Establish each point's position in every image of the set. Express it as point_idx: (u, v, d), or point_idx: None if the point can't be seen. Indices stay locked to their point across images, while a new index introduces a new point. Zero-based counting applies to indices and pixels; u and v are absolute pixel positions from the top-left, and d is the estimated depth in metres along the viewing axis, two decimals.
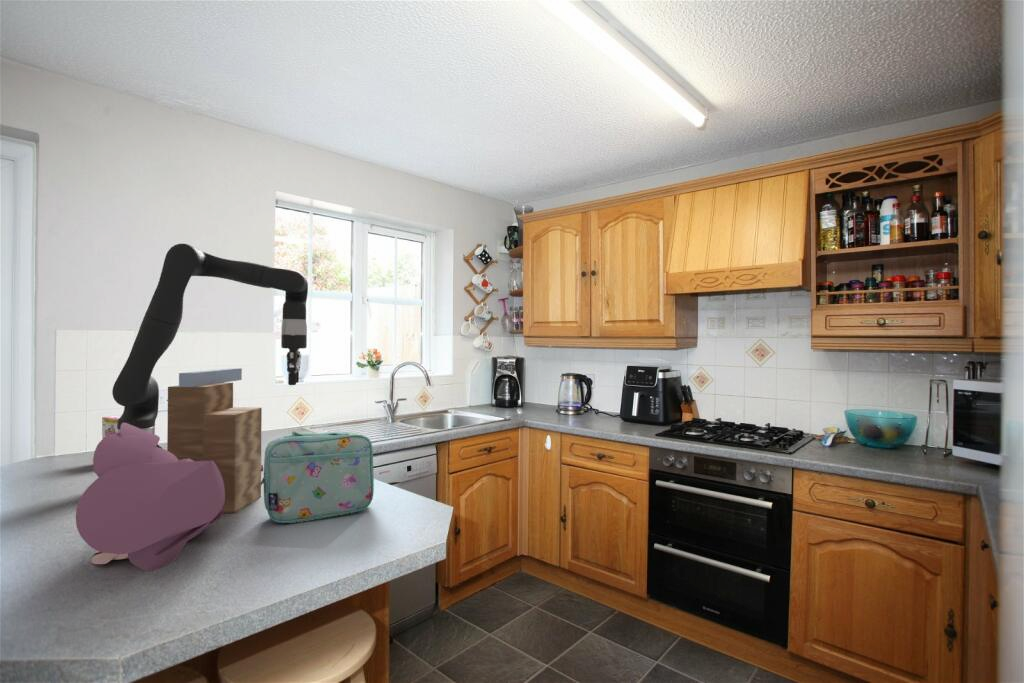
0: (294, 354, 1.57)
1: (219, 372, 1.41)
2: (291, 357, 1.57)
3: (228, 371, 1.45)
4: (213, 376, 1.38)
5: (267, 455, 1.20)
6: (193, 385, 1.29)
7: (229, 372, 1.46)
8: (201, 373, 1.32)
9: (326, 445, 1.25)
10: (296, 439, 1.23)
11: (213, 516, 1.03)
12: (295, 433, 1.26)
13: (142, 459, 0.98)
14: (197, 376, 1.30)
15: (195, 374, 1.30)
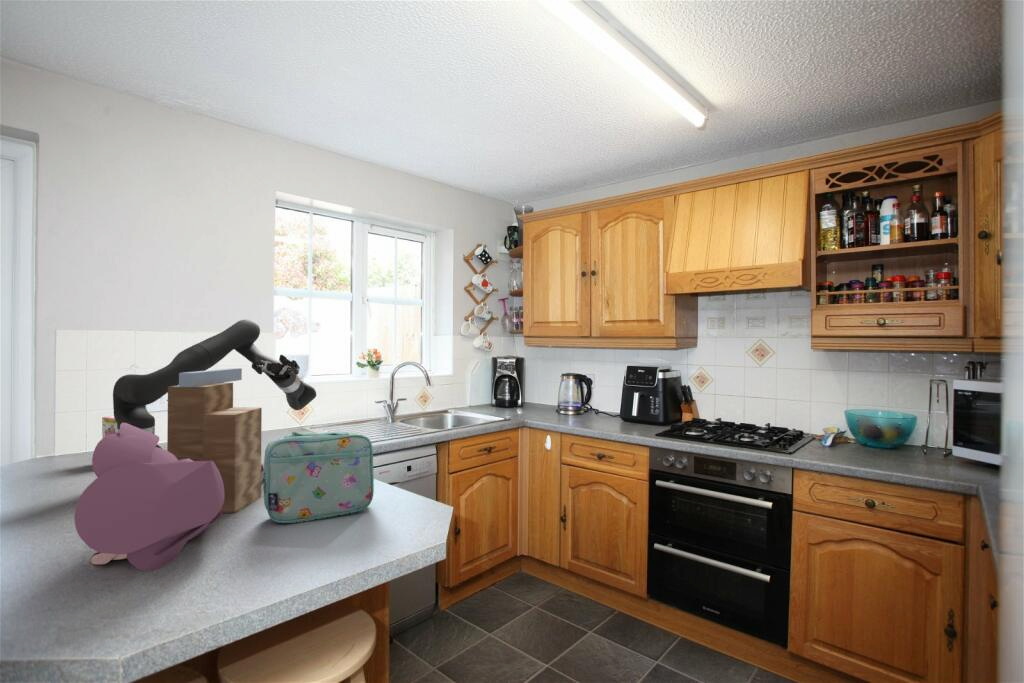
0: (298, 372, 1.74)
1: (219, 372, 1.41)
2: (298, 369, 1.74)
3: (228, 371, 1.45)
4: (213, 376, 1.38)
5: (267, 455, 1.20)
6: (193, 385, 1.29)
7: (229, 372, 1.46)
8: (201, 373, 1.32)
9: (326, 445, 1.25)
10: (296, 439, 1.23)
11: (212, 516, 1.03)
12: (295, 433, 1.26)
13: (141, 459, 0.98)
14: (197, 376, 1.30)
15: (195, 374, 1.30)
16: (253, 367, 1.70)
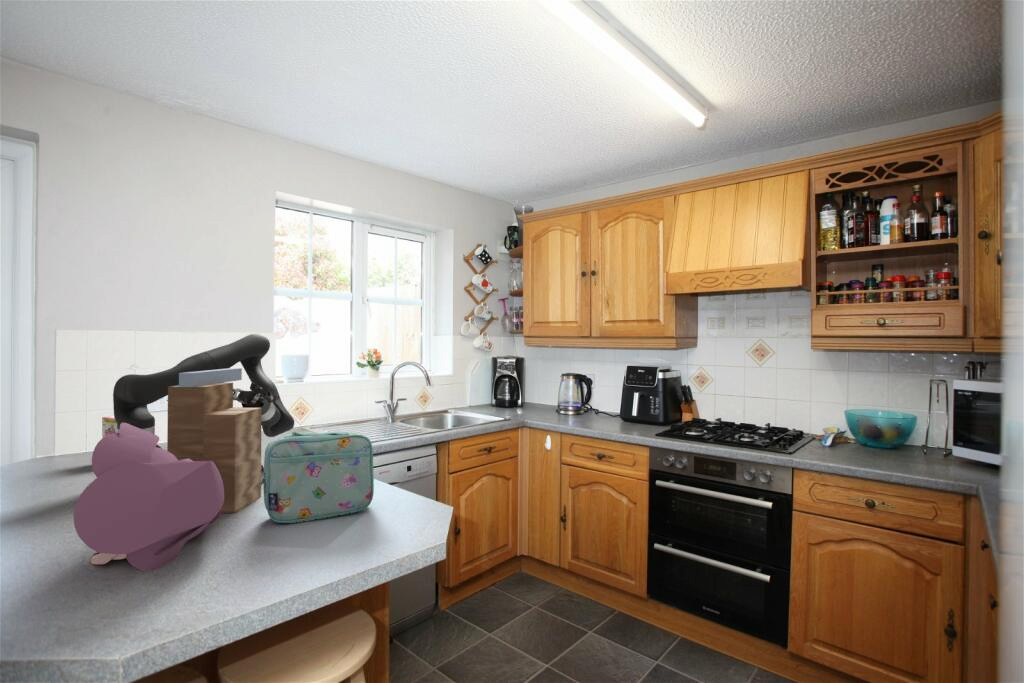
0: (272, 400, 1.62)
1: (219, 372, 1.41)
2: (271, 397, 1.61)
3: (228, 371, 1.45)
4: (213, 376, 1.38)
5: (267, 455, 1.20)
6: (193, 385, 1.29)
7: (229, 372, 1.46)
8: (201, 373, 1.32)
9: (326, 445, 1.25)
10: (296, 439, 1.23)
11: (212, 516, 1.03)
12: (295, 433, 1.26)
13: (141, 459, 0.98)
14: (197, 376, 1.30)
15: (195, 374, 1.30)
16: None
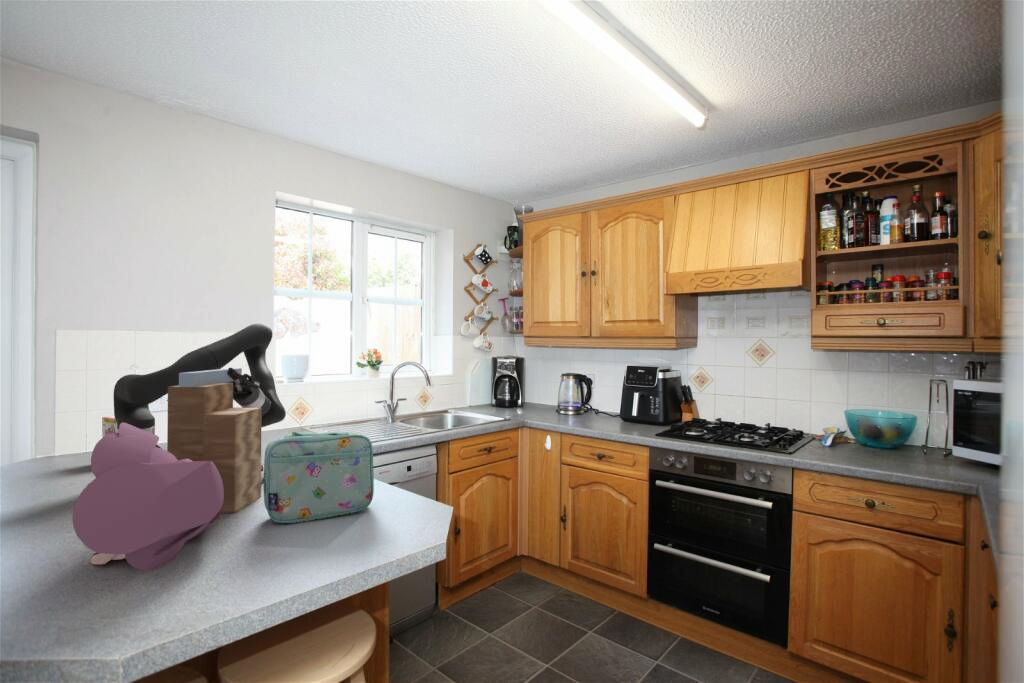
0: (257, 386, 1.53)
1: (219, 372, 1.41)
2: (255, 382, 1.52)
3: None
4: (213, 376, 1.38)
5: (267, 455, 1.20)
6: (193, 385, 1.29)
7: None
8: (201, 373, 1.32)
9: (326, 445, 1.25)
10: (296, 439, 1.23)
11: (211, 517, 1.03)
12: (295, 433, 1.26)
13: (140, 459, 0.98)
14: (197, 376, 1.30)
15: (195, 374, 1.30)
16: None
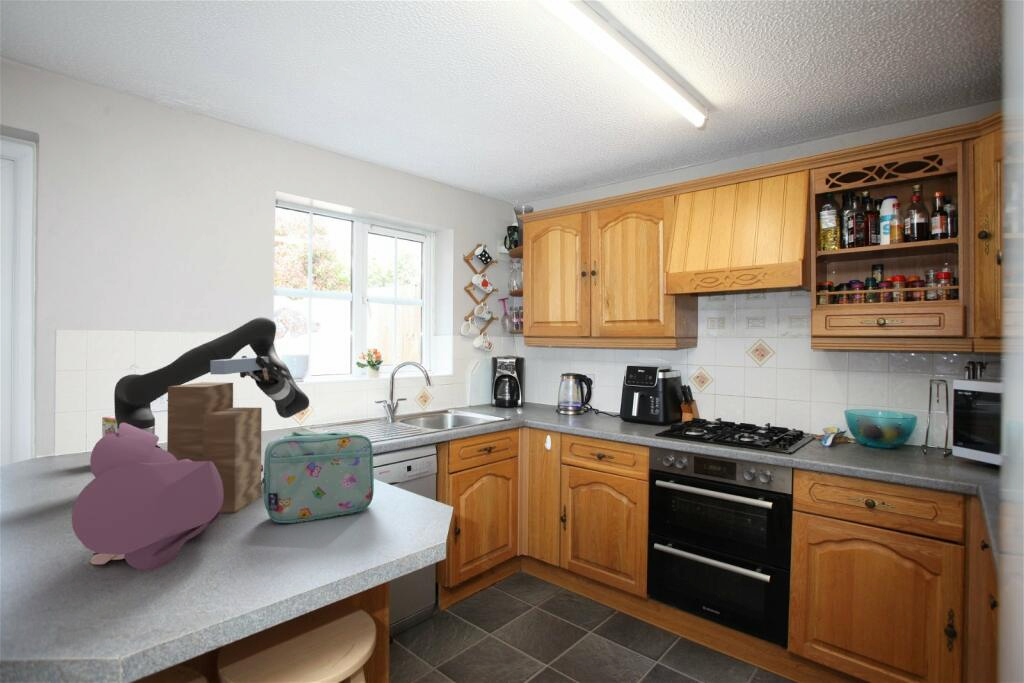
0: (284, 375, 1.52)
1: (248, 360, 1.40)
2: (282, 371, 1.51)
3: None
4: (243, 364, 1.37)
5: (267, 455, 1.20)
6: (225, 372, 1.28)
7: None
8: (231, 361, 1.31)
9: (326, 445, 1.25)
10: (296, 439, 1.23)
11: (211, 517, 1.03)
12: (295, 433, 1.26)
13: (140, 459, 0.98)
14: (228, 364, 1.29)
15: (226, 361, 1.29)
16: None
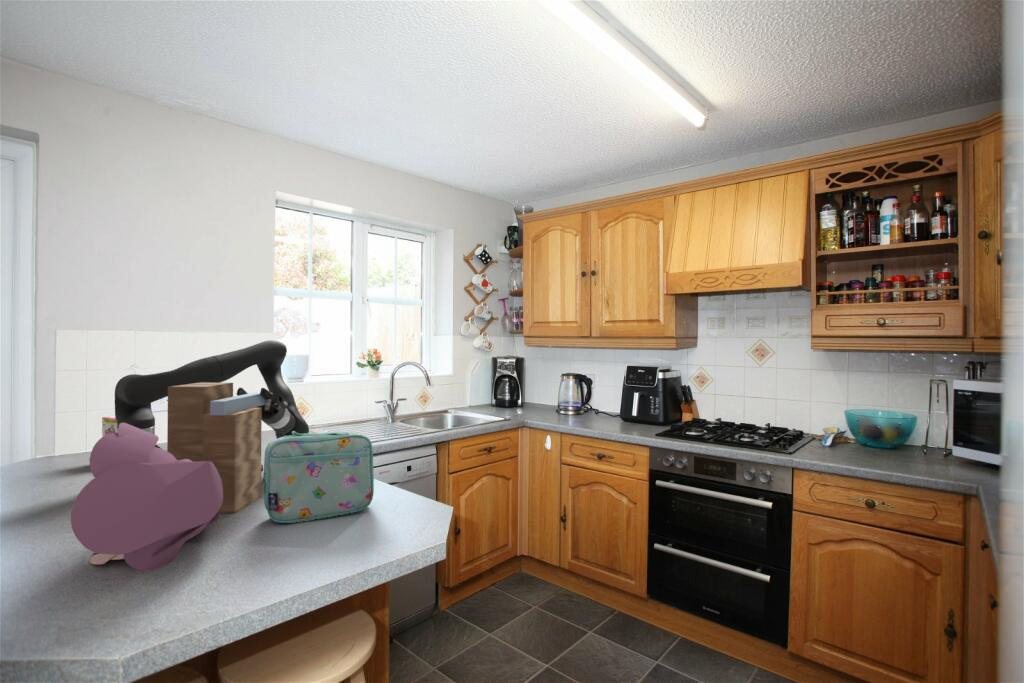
0: (286, 406, 1.52)
1: (248, 398, 1.40)
2: (284, 402, 1.52)
3: (256, 396, 1.44)
4: (243, 402, 1.37)
5: (267, 455, 1.20)
6: (224, 413, 1.28)
7: (257, 397, 1.45)
8: (231, 401, 1.31)
9: (326, 445, 1.25)
10: (296, 439, 1.23)
11: (210, 517, 1.03)
12: (295, 433, 1.26)
13: (139, 459, 0.98)
14: (228, 404, 1.30)
15: (226, 402, 1.29)
16: None
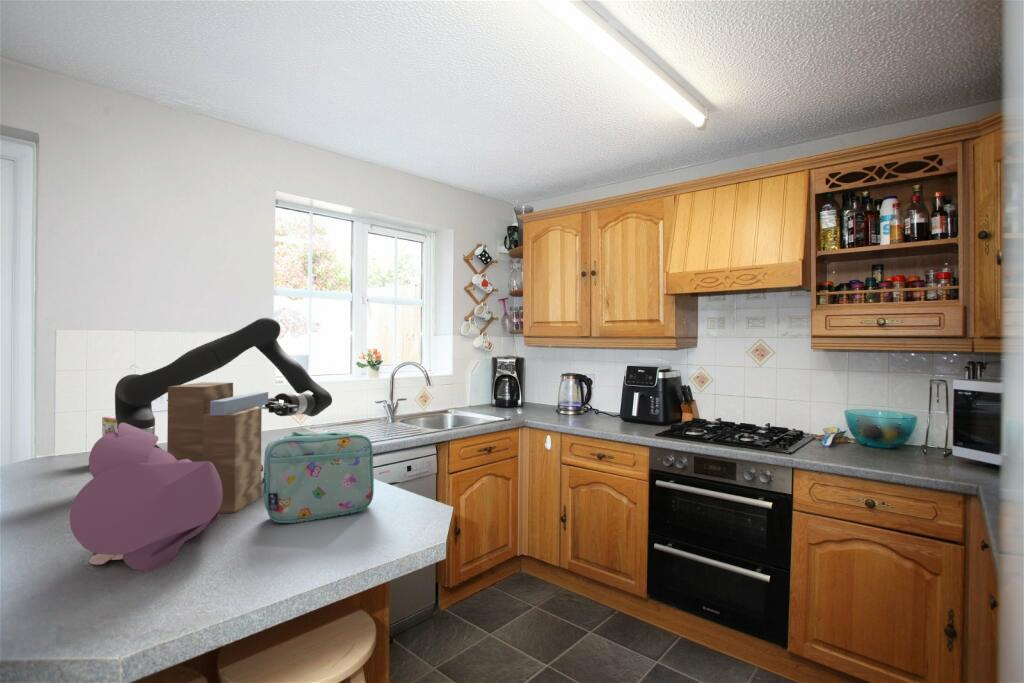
0: (296, 411, 1.61)
1: (248, 398, 1.40)
2: (294, 409, 1.61)
3: (256, 396, 1.44)
4: (243, 402, 1.37)
5: (267, 455, 1.20)
6: (224, 413, 1.28)
7: (257, 397, 1.45)
8: (231, 401, 1.31)
9: (326, 445, 1.25)
10: (296, 439, 1.23)
11: (210, 517, 1.03)
12: (295, 433, 1.26)
13: (138, 459, 0.98)
14: (228, 404, 1.30)
15: (226, 402, 1.29)
16: None
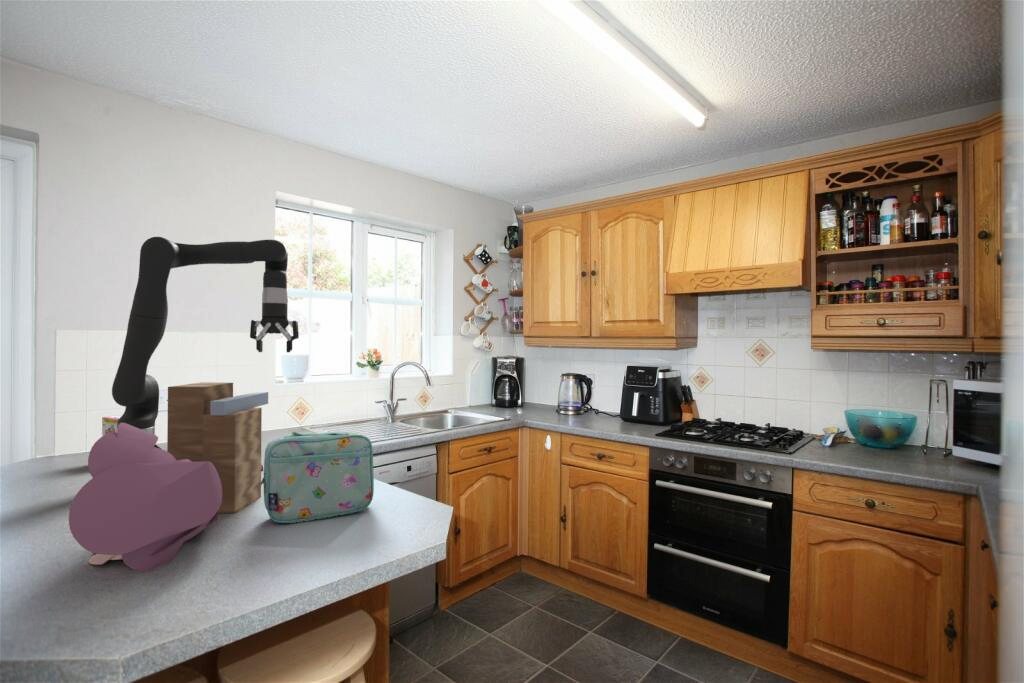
0: (297, 322, 1.67)
1: (248, 398, 1.40)
2: (297, 325, 1.66)
3: (256, 396, 1.44)
4: (243, 402, 1.37)
5: (267, 455, 1.20)
6: (224, 413, 1.28)
7: (257, 397, 1.45)
8: (231, 401, 1.31)
9: (326, 445, 1.25)
10: (296, 439, 1.23)
11: (209, 517, 1.03)
12: (295, 433, 1.26)
13: (138, 459, 0.97)
14: (228, 404, 1.30)
15: (226, 402, 1.29)
16: None
